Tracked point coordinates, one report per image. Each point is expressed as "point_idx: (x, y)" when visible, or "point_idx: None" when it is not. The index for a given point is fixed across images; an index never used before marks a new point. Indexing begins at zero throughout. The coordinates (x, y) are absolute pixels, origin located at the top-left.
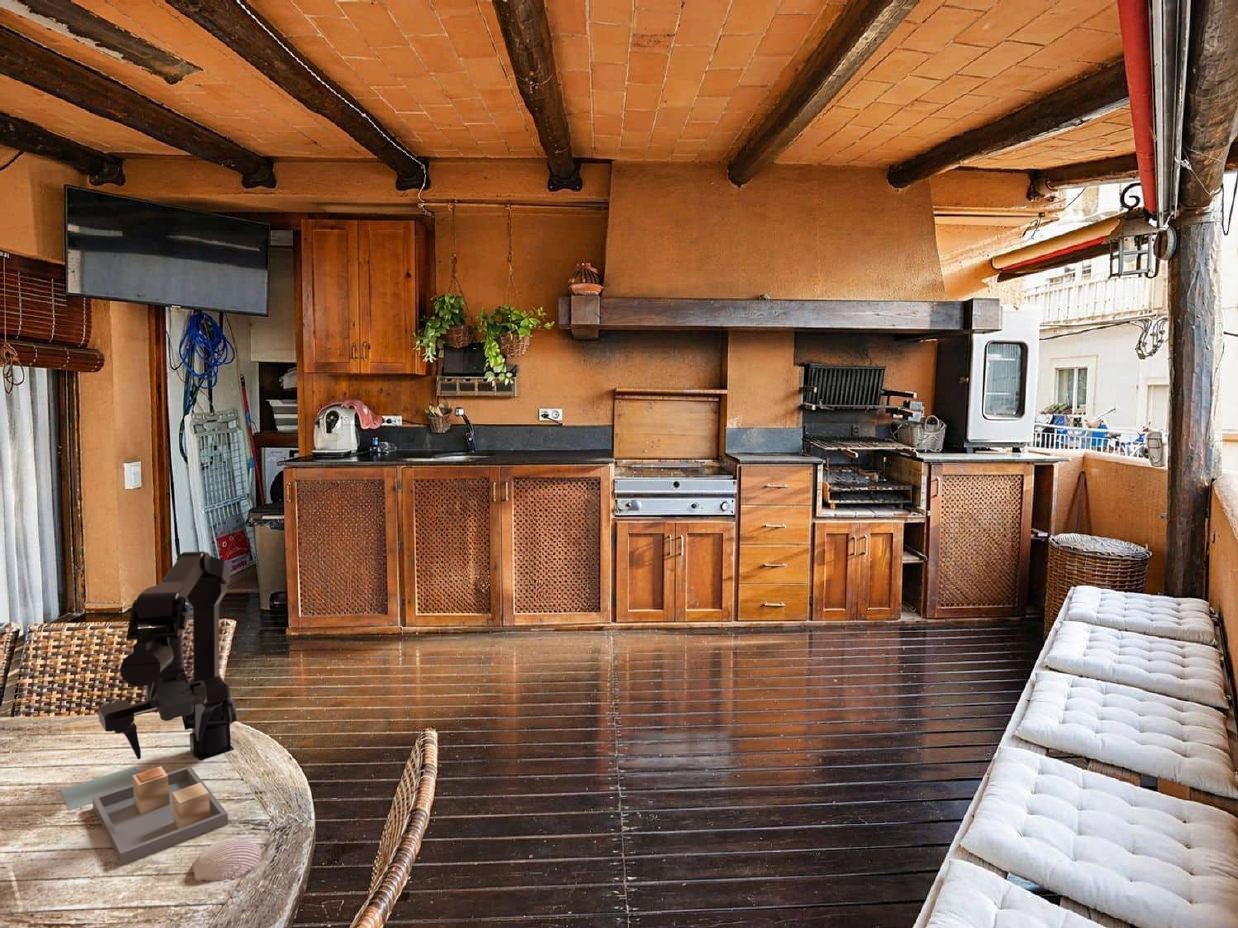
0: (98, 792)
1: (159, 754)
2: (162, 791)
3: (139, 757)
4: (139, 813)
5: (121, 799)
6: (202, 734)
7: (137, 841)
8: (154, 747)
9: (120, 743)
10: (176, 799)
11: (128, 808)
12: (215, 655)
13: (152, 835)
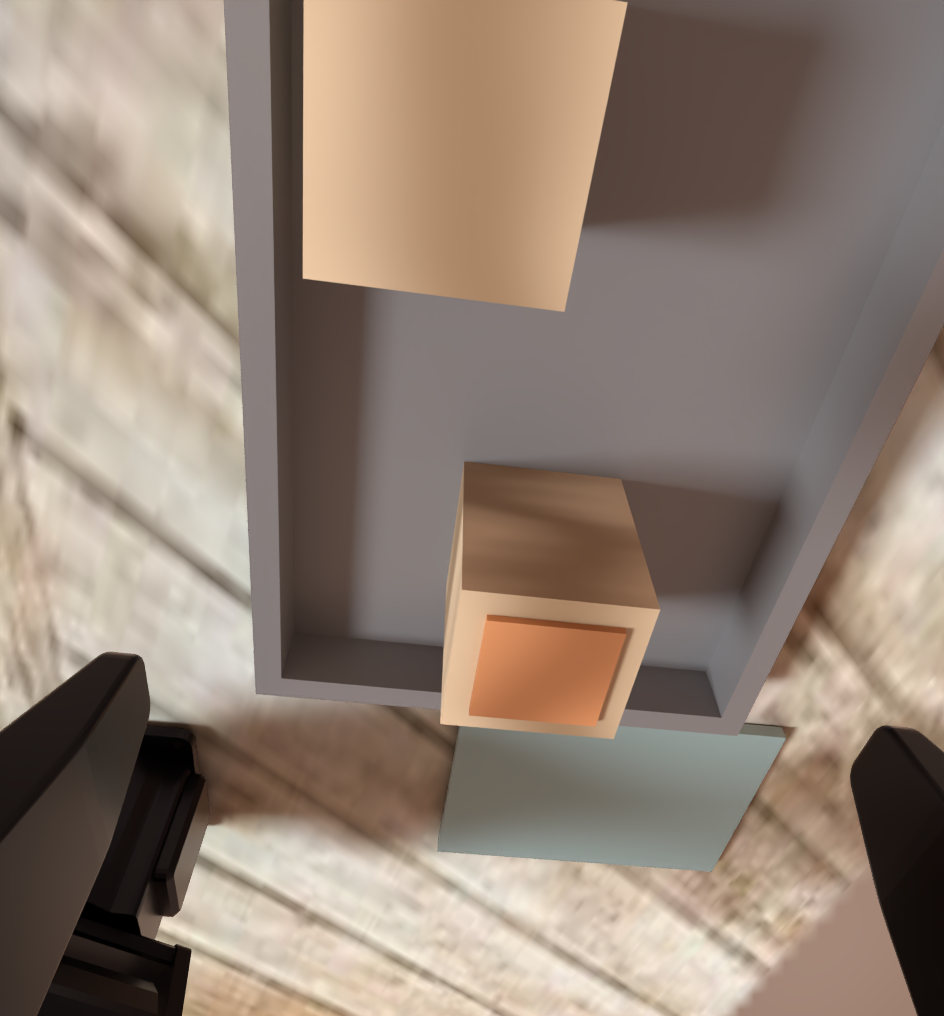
0: (635, 778)
1: (323, 871)
2: (502, 524)
3: (913, 740)
4: None
5: None
6: (32, 712)
7: (805, 182)
8: (321, 916)
9: (407, 988)
10: (598, 135)
11: None
12: None
13: (710, 173)
